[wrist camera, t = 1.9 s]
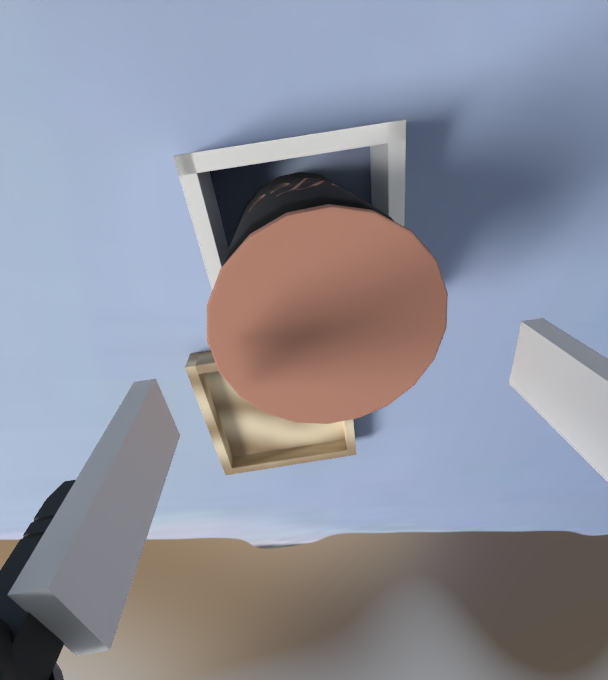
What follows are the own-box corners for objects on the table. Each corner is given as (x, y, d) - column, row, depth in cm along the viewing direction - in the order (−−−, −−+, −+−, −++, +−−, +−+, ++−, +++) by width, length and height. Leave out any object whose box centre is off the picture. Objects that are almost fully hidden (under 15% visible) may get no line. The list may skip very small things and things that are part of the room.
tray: (190, 353, 36) (185, 367, 33) (342, 330, 36) (347, 342, 33) (228, 458, 44) (225, 475, 41) (352, 439, 44) (356, 454, 41)
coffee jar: (377, 193, 29) (497, 250, 14) (336, 304, 34) (390, 439, 19) (255, 153, 27) (230, 164, 11) (229, 278, 32) (188, 405, 16)
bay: (189, 153, 27) (173, 155, 22) (384, 123, 27) (406, 119, 22) (235, 326, 34) (230, 352, 30) (386, 302, 34) (403, 325, 30)
